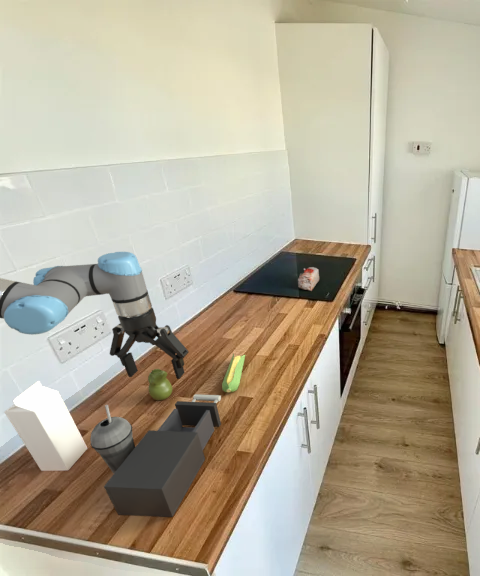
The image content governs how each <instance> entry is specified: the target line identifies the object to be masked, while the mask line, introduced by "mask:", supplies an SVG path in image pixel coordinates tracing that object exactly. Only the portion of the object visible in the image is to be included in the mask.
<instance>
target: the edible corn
mask: <svg viewBox="0 0 480 576" xmlns="http://www.w3.org/2000/svg"><path fill="white" fill-rule="evenodd" d="M245 359H246V354H242V355H235V353H233V354H232V356H231V359H230V363H229V365H228V367H227V370H226V372H225V374H224V377H223V379H222V383H221V390H222V391H223V392H224V393H234V392H236V391H238V390H239V387H240V384H241V378H242V373H243V368H244V364H245Z"/></svg>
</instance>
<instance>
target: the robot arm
mask: <svg viewBox="0 0 480 576" xmlns="http://www.w3.org/2000/svg"><path fill="white" fill-rule="evenodd" d="M32 282H33V284H31V283H26V282H21V281H17V280H12V279H7V278H2V277H0V319H3V320H4V322H5V324H6V325H7V327H9V328H10V329H13V330H15V331H17V332H18V333H20V334H24V335H32V336H33V335H40V334H45V333H47V332H50V331H51V330H53V329H54V328H55V327H57V326H58V325H59V324H61V323H62V322H63V321H65V319H66V318H67V317H68V315H69V314H70V313H71V312H72V311H73V310H74V308H75V307H76V306H78V305H79V304H80V302H81V301H82V300H83V299H84V298H86V297H91V296H100V295H109V297H110V299H111V301H112V305H113V307H114V310H115V313H116V315H117V319H118V320H119V321H118V322H119V323H118V324H117V325H115V326H114V327H113V328H112V329H111V330H112V334H113V336H112V341H111V345H110V349H109V355H110V356H116V357H117V358H118V359H119V361H120V363H121V365H122V366H123V367H124V369H125V371H126V374H127V376H128V378H132V377H133V376H135V374H137V372H138V371H139V370H138V367H137V365H136V361H135V359H134V356H133V353H132V352H130V350H131V348H132V347H133V345H134V344H135V342H136V343H145V344H151V345H152V346H156V347H157V348H158V349H160V350H161V351H162V352H164V353H165V354H166V355H167V356H169V357H170V358H171V360H170V362H171V365H172V368H173V371H174V375H175V378H176V380H180V379H181V377H183V375H184V374H185V369H184V366H185V361H184V358H185V357H186V356H187V355H188V354H189V352H190V351H189V350H188V349H187V347H186V346H185V345H184V344H183V343H182V342H181V340H179V338H178V337H177V336H176V334H175V333H174V332H172V328H171V326H170V325H168V324H166V325H165V326H162V327H161V326H160V327H159V326H158V324H157V315H156V313H155V310H154V307H153V304H152V301H151V298H150V294H149V291H148V287H147V285H146V281H145V277H144V274H143V269H142V267H141V265H140V263H139V260H138V257H137V256H136V254H134V253H133V252H130V251H115V252H109V253H105V254H102V255H101V256H99V257H98V258H97V263H90V264H89V263H87V264H75V265H55V266H49V267H44V268H40V269H39V270H37V271H36V272H35V276H34V277H33V281H32ZM125 334H126V335H127V336H128V338H127V339H126V341H125V342H124V337H125ZM123 342H124V345H123ZM122 345H123V346H122Z"/></svg>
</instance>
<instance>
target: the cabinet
mask: <svg viewBox="0 0 480 576" xmlns="http://www.w3.org/2000/svg"><path fill="white" fill-rule="evenodd" d="M205 460H206V458H205V454H204V449H203V450H202V446H201V443H200V439H199V436H198V432H176V431H158V430H151V429H148V431H147V432H146V433H145V434H144V435H143V437H142V438H141V439H140V440H139V442H138V443H137V444H136V445H135V448H134V449H133V451H132V452H131V453H130V454H129V456H128V457H127V458H126V459H125V461H124V462H123V463H122V464H121V466H120V467H119V468H118V469H117V471H116V472H115V473H114V474H113V473H112V475H111V477H110V478H109V480H107V482H106V483H105V484H104V485H103V489H104V491H105V492H106V494H107V496H108V498H109V500H110V502H111V504H112V506H113V508H114V510H115V511H116V513H117V515H118V516H135V517H136V516H137V517H157V518H159V517H160V518H163V517H164V518H173V517H174V516H175V514H176V512H177V511H178V509H179V507H180V505H181V504H182V502H183V500H184V498H185V496H186V495H187V493H188V491H189V489H190V487H191V486H192V483H193V482H194V480H195V478H196V477H197V475H198V473H199V471H200V469H201V468H202V466H203V464H204V462H205Z"/></svg>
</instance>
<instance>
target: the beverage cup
mask: <svg viewBox="0 0 480 576" xmlns="http://www.w3.org/2000/svg"><path fill="white" fill-rule="evenodd" d="M104 408H105V412H106V416H107V418H105V419H102V420H101V421H100V422H98V423H97V424H96V425H95V426H94V427H93V429H92V430H91V432H90V438H89V439H90V446H91V448H92V449H94V451H95V452H96V453H98V454H99V455H100V457H101V458H102V460H103V461H104V462H105V464H106V465H107V467H108V468H109V469H110V471H111V473H112V475H113V474H114V473H115V472H116V471H117V469H118V468H119V467H120V466H121V464H122V463H123V462H124V461H125V459H126V458H127V457H128V456H129V454H130V453H131V452H132V451H133V449H134V448H135V447H136V444H135V441H134V437H133V425H132V424H131V423H130V422H129V421H128V420H127V419H125V418H123V417H122V416H111V412H110V408H109V405H108V404H106V405H104Z"/></svg>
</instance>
